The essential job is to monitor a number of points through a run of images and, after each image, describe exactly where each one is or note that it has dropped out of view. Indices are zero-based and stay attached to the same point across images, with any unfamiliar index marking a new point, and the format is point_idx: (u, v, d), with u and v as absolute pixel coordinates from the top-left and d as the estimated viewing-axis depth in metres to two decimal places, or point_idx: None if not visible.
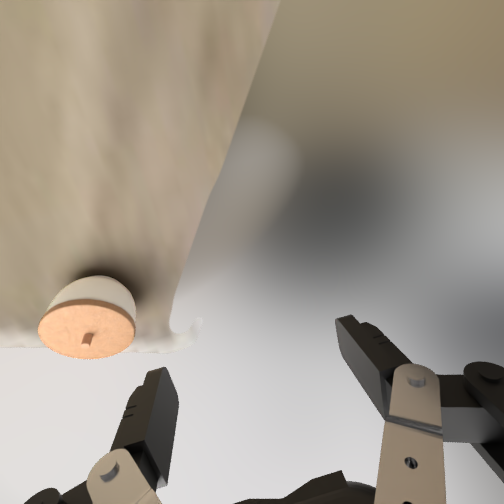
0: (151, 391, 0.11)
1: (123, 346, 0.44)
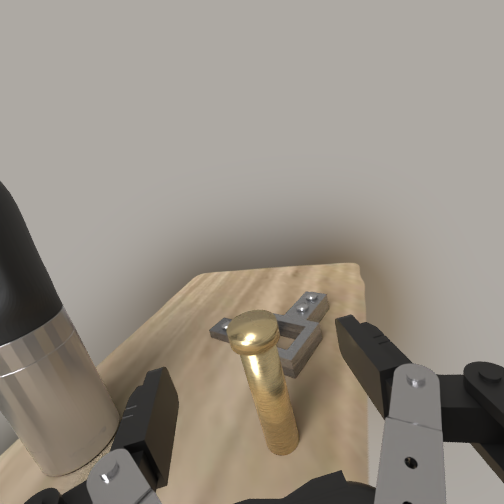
0: (151, 391, 0.11)
1: None
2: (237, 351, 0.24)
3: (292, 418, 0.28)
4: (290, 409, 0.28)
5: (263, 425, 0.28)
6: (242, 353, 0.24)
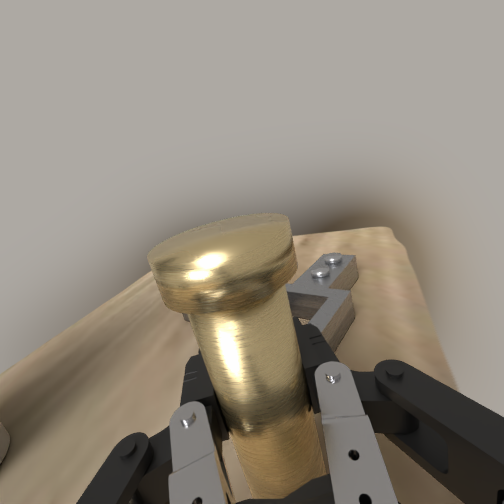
0: None
1: None
2: (172, 302, 0.08)
3: None
4: (320, 458, 0.12)
5: (255, 496, 0.12)
6: (185, 307, 0.08)
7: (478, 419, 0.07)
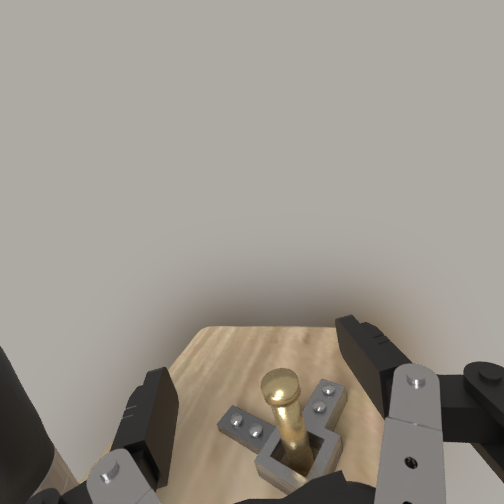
0: (151, 391, 0.11)
1: None
2: (270, 404, 0.33)
3: (309, 449, 0.37)
4: (308, 442, 0.36)
5: (288, 455, 0.37)
6: (274, 406, 0.33)
7: None
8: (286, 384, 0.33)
